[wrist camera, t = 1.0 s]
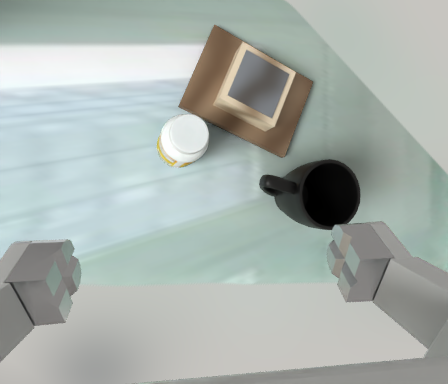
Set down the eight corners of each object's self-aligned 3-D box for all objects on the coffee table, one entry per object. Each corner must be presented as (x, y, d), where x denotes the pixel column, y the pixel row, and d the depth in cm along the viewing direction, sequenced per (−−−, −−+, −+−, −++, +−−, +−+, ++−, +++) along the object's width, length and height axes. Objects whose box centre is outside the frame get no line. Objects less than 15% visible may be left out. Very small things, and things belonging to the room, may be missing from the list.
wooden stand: (178, 106, 41) (182, 96, 37) (212, 28, 43) (220, 10, 39) (281, 157, 45) (295, 153, 41) (309, 84, 47) (326, 73, 42)
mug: (248, 152, 44) (277, 141, 35) (321, 175, 47) (367, 169, 38) (234, 210, 43) (261, 213, 34) (310, 229, 46) (353, 237, 37)
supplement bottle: (153, 163, 40) (158, 153, 31) (160, 123, 41) (167, 101, 31) (194, 171, 42) (210, 164, 32) (200, 132, 42) (218, 113, 33)
